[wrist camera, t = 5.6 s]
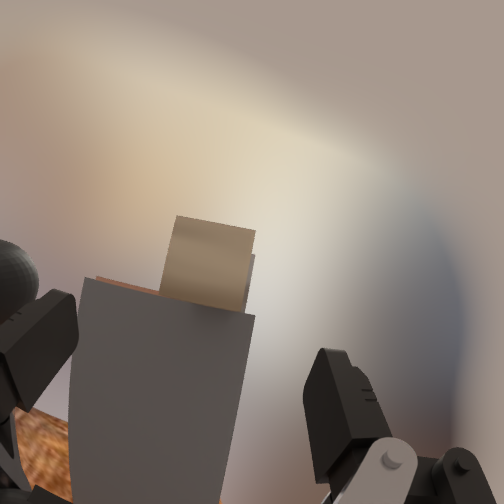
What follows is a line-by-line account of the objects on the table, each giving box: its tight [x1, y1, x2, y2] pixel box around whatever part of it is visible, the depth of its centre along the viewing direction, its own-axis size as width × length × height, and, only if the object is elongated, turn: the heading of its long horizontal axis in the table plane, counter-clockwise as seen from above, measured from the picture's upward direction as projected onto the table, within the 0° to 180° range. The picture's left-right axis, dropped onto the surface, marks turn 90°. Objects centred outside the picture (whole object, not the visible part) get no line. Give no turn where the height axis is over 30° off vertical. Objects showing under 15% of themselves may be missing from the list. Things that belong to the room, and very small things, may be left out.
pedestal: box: [68, 276, 255, 504], centre depth 21 cm, size 10×13×32 cm
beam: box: [158, 216, 255, 313], centre depth 21 cm, size 20×5×5 cm, turn 5°
